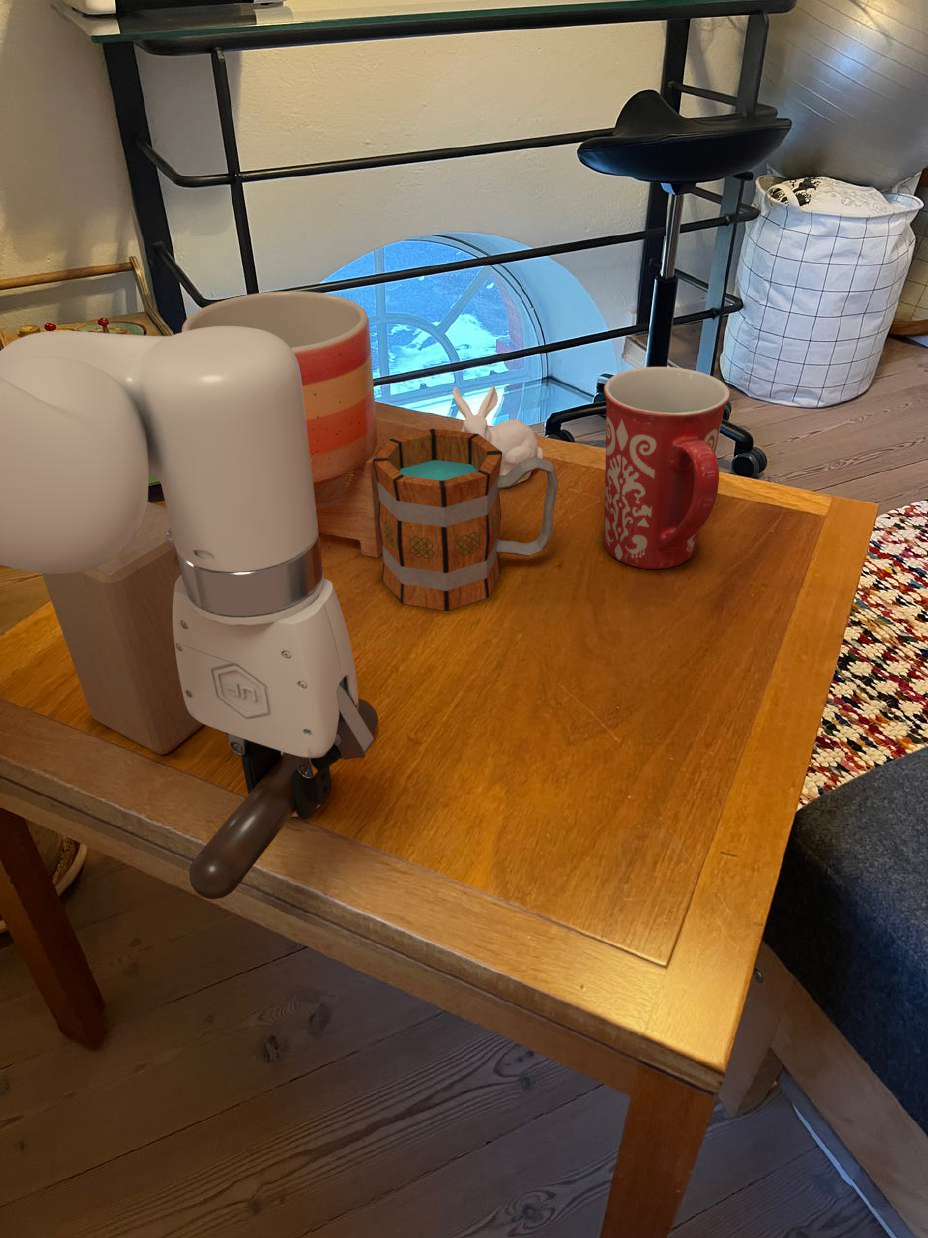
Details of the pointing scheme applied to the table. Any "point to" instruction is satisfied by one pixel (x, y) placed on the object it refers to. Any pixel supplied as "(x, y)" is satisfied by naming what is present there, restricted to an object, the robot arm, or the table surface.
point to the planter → (324, 397)
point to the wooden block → (128, 637)
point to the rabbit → (500, 433)
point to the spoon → (253, 825)
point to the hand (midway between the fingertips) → (290, 793)
